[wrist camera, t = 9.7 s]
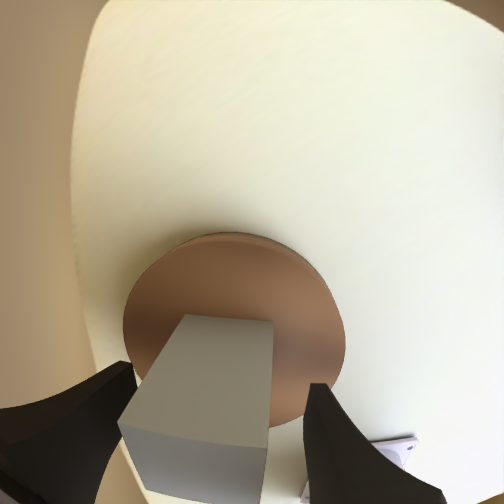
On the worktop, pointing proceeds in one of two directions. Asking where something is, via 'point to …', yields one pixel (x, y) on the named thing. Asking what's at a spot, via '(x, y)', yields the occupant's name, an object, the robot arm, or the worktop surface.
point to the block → (205, 412)
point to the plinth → (242, 309)
